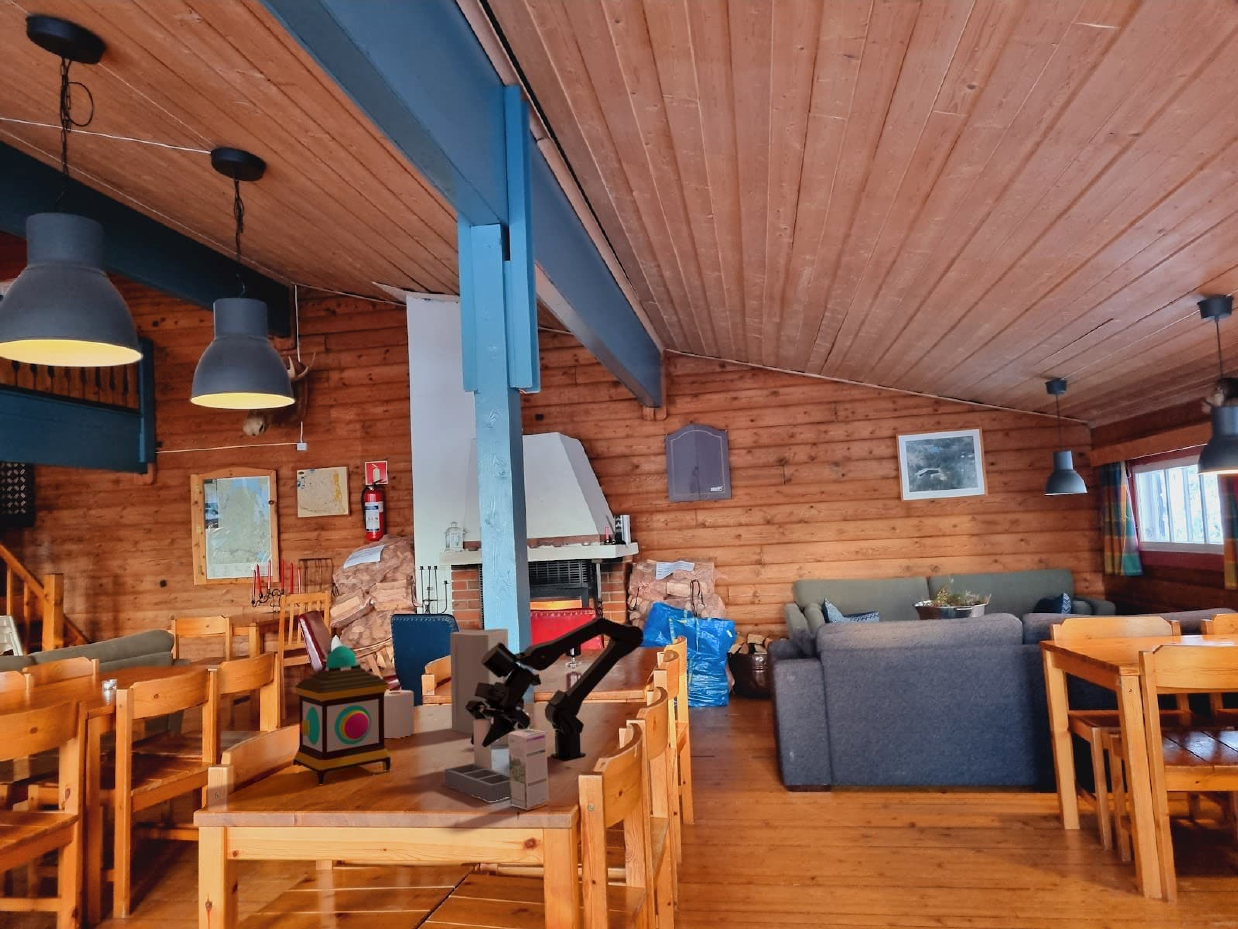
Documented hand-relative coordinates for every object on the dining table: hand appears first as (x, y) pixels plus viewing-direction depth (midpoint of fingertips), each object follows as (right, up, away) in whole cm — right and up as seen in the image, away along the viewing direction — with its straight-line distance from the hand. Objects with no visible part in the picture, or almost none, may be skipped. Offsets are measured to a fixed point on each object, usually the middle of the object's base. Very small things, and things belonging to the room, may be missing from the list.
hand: (477, 745), depth 196 cm
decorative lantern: (-34, -9, +6) cm, 35 cm away
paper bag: (-9, -13, +53) cm, 56 cm away
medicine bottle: (+4, -10, +32) cm, 34 cm away
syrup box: (+15, -3, -27) cm, 31 cm away
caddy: (+3, -5, -15) cm, 16 cm away
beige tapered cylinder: (+1, -7, 0) cm, 7 cm away
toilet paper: (-32, -13, +48) cm, 59 cm away
